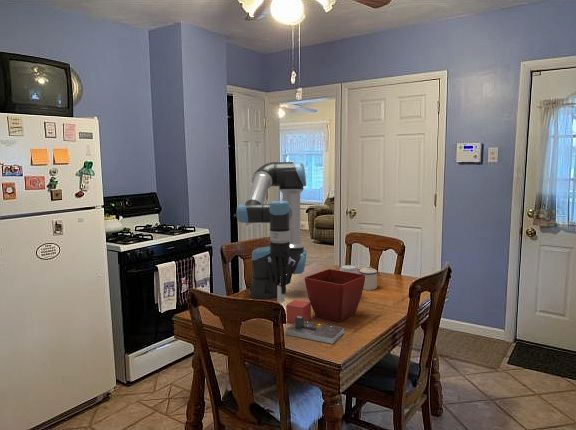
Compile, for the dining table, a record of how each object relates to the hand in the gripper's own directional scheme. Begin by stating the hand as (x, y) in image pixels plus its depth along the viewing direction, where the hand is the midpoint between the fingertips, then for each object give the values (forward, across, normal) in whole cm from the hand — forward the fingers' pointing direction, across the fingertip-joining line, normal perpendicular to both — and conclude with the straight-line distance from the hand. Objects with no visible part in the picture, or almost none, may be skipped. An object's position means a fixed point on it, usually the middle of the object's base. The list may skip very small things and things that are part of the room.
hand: (280, 301), depth 167 cm
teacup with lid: (+10, +12, +67) cm, 69 cm away
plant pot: (+11, +13, +24) cm, 29 cm away
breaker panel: (+11, +14, +2) cm, 18 cm away
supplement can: (+11, +10, +48) cm, 50 cm away
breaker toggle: (+9, +8, 0) cm, 12 cm away
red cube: (+11, +2, +12) cm, 16 cm away
